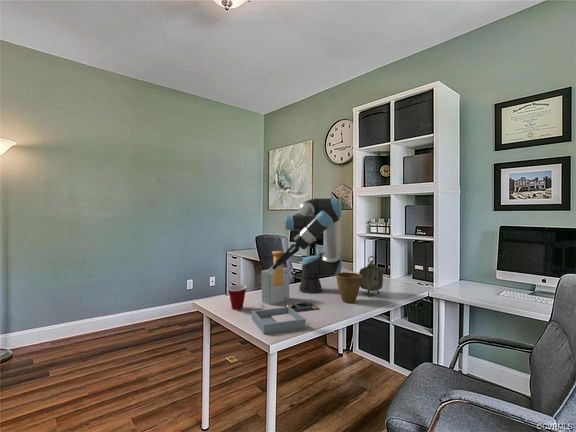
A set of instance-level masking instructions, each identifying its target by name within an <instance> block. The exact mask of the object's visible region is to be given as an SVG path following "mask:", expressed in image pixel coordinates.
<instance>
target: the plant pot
mask: <svg viewBox="0 0 576 432" xmlns="http://www.w3.org/2000/svg"><path fill="white" fill-rule="evenodd" d="M335 277H336V282H337V288H338V291H339V295H340V298H341V301H342V302H343V303H346V304H354V303H355V302H356V300H357V298H358V294H359V291H360V288H361V287H360V284H361V278H362V275H360V274H359V273H355V272H351V271H350V272H348V271H345V272H340V273H338V274H336V276H335Z"/></svg>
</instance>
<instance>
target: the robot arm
mask: <svg viewBox="0 0 576 432" xmlns="http://www.w3.org/2000/svg"><path fill="white" fill-rule="evenodd" d="M342 214H343V213H342V206H341V200H340V199H338V198H334V197H333V198H332V197H331V198H326V197H325V198H323V197H322V198H318V197H317V198H315V197H314V198H311V199H307V200H306V201H304V202H302V203H301V204H300V205H299V207H298V210H297V211H296V212H295V213H294V214H293V215H292V214H290V215H289V214H288V215H286V216H285V218H284V227H285V230H287V231H291V232H292V231H299V233H297V234H296V235H295V236H294V237H293V241H294V243H292V244H291V245H290V246H289V247H288V249H286V251H285V252H284V255H283V256H282V257H280V258H279V259H278V260H275V261H276V263H274V262H273V265H271V266H270V268H268V269H266V270H267V272H268V273H269V274H270V275H272V274H273V273H274V272H275V271H276V270H277V269H278V268H279V267H280V266H281V264H282V263H283V265H286V262H287V261H288V260H289V259H290V258H291V257H292V256H294V255H295V254H296V253H297V252H299V251H300V248H301V250H306V249H308V248H309V246H310V244H312V243H313V242H316V241H317V238H318V237H319V236H320V235H322V233H323V255H322V256H321V257H320V255H309V256H308V255H307V256H305V257H303V258H302V260H301V280H300V284H299V291H300V292H301V293H304V294H317V293H320V292H322V291H323V287H322V284H321V281H320V276H323V277H336V274H338V273H342V272H341V271H342V263H343V259H342V258H340V255H339V254H338V222H339V221H340V218H342V217H343V215H342Z"/></svg>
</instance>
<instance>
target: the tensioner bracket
mask: <svg viewBox="0 0 576 432" xmlns="http://www.w3.org/2000/svg"><path fill="white" fill-rule="evenodd" d="M284 307H290V308H291V309H293V310H294V311H295V312H297V313H302V312H310V311H319V310H321V308H319V306H318V305H315V304H313V303H312V302H308V303H307V302H306V301H305V302H304V301H303V302H295V303H289V304H286V305H284Z"/></svg>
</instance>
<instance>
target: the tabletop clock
mask: <svg viewBox="0 0 576 432" xmlns="http://www.w3.org/2000/svg"><path fill="white" fill-rule="evenodd" d="M370 258H373V260H370ZM367 259H368V260H367V261H368V263H367V266H364V267H362V268H360V269H359V273H358V274H360V275H362V278H361V284H360V288H361V289H362V290H365V291H366V290H367V291H366V294H367V297H371V296H372V295H371V292H377V294H381V291H379V290H381V289H382V288H383V283H384V270H383V268H382V267H377V266H376V264H375V263H374V261H375V259H376V258H375V257H374V256H373V255H371V256H369V257H368V258H367Z"/></svg>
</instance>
